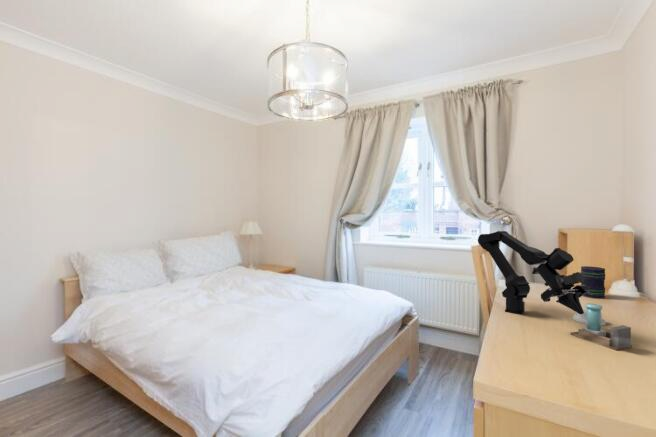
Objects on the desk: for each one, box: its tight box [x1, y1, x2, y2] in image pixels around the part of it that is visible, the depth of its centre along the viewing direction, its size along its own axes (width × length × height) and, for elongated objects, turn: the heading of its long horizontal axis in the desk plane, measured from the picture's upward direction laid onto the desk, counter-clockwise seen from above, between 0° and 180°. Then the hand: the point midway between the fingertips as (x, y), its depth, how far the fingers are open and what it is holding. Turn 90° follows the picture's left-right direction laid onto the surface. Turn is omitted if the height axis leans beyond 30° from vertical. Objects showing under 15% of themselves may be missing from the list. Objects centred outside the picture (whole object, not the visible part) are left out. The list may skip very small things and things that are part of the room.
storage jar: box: [580, 265, 606, 300], centre depth 162 cm, size 10×10×15 cm
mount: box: [570, 324, 633, 351], centre depth 105 cm, size 14×8×7 cm, turn 17°
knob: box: [581, 303, 607, 337], centre depth 107 cm, size 5×4×11 cm
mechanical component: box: [572, 308, 607, 327], centre depth 124 cm, size 10×4×10 cm
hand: (582, 313), depth 110 cm, fingers closed
